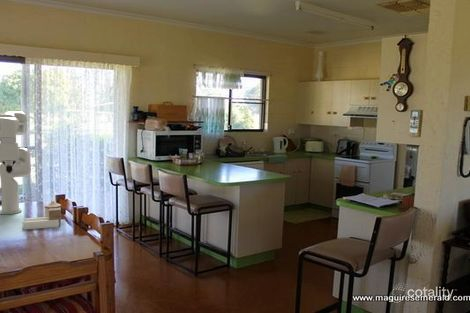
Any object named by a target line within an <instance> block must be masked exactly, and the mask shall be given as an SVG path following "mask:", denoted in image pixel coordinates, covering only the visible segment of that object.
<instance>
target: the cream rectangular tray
mask: <svg viewBox="0 0 470 313" xmlns="http://www.w3.org/2000/svg"><path fill="white" fill-rule="evenodd" d="M59 226H60V224H59V219H57V220H49V217H45V216H44V217H43V216H42V217H29V218H27V217H26V218H23V220H22V230H33V229H34V230H35V228H37V229H47V228H48V229H50V228H59ZM49 227H50V228H49Z"/></svg>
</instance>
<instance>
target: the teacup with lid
mask: <svg viewBox="0 0 470 313" xmlns="http://www.w3.org/2000/svg"><path fill="white" fill-rule="evenodd" d="M50 208H60V209H61V210H62V205H61V204H60V203H58V202H55V200H51V201H50V202H49V203H48V204H45V205H44V217H49V209H50Z"/></svg>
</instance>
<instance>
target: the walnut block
mask: <svg viewBox="0 0 470 313" xmlns="http://www.w3.org/2000/svg"><path fill="white" fill-rule="evenodd" d="M57 219H59V225H60V224H62V222H61V221H62V208H61V209H60V208H50V209H49V220H57Z"/></svg>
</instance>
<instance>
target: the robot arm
mask: <svg viewBox="0 0 470 313" xmlns="http://www.w3.org/2000/svg"><path fill="white" fill-rule="evenodd" d="M27 119H28V118H27V115H26V113H25V112H23V111H15V110H9V111H8V110H7V111H4V112H2V113H1V114H0V188H1V189H0V194H1V196H0V197H1V209H0V215H14V214H19V213H21V212H22V211H23V210H22V208H20V204H19V203H20V202H19V200H20V199H19V197H20V195H19V183H18V181H17V180H16V179H15V178H25V177H29V176H30V175H31V172H32V171H31V170H32V169H31V156H30V155H31V154H30V151H29V149H28V148H27V147H26V148H25V147H19V144H18V142H17V136H22V135H23V136H24V135H25V134H26V133H27V132H28V130H27V129H28V120H27Z"/></svg>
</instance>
